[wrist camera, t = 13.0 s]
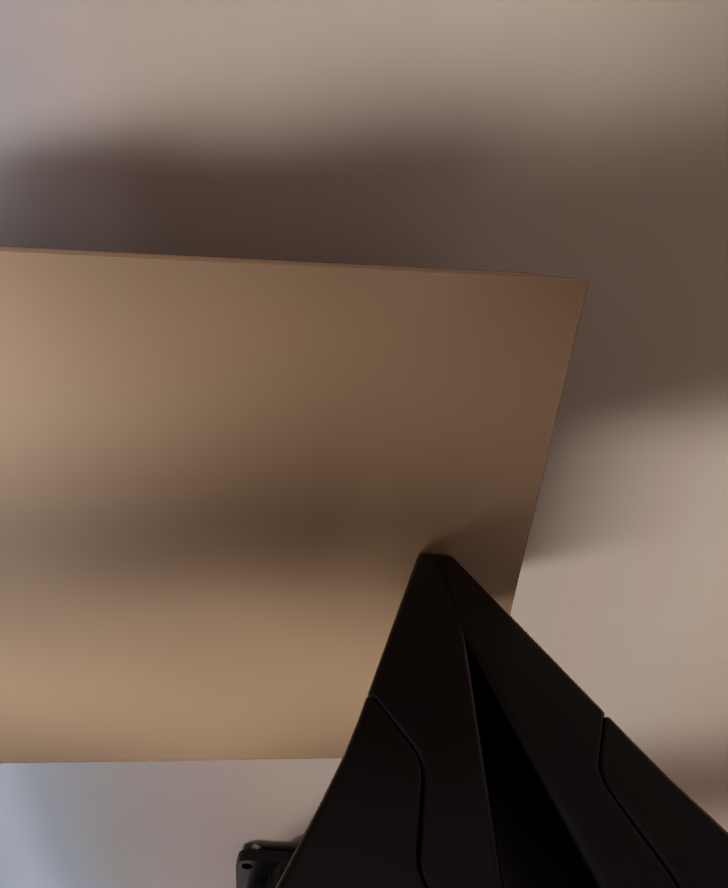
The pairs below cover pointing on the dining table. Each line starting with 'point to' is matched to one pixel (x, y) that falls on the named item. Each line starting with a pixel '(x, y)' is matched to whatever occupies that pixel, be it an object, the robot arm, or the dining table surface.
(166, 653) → the slab
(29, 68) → the dining table surface
